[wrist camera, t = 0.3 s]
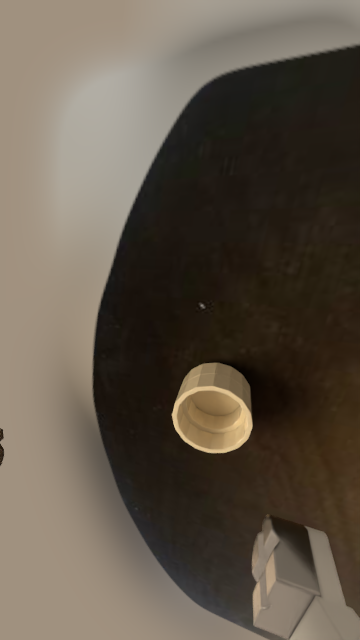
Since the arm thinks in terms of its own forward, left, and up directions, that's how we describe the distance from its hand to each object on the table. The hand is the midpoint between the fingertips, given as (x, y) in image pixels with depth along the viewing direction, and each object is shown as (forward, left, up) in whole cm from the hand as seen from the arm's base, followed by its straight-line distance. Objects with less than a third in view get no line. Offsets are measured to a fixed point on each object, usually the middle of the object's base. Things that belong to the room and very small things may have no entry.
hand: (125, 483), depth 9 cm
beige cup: (+8, +3, -18) cm, 20 cm away
